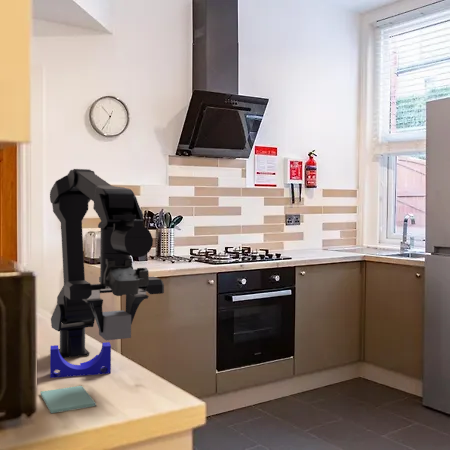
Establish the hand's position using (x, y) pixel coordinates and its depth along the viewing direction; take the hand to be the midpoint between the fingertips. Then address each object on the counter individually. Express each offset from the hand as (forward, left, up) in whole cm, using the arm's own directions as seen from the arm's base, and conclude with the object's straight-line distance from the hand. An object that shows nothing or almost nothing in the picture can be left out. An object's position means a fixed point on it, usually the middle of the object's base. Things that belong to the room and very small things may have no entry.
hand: (114, 330), depth 109 cm
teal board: (+6, -11, -10) cm, 16 cm away
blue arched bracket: (-9, -5, -11) cm, 15 cm away
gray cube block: (0, 0, -1) cm, 1 cm away
